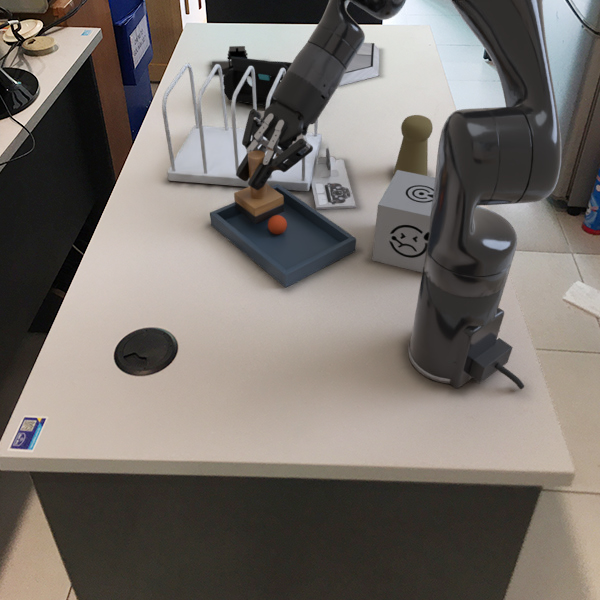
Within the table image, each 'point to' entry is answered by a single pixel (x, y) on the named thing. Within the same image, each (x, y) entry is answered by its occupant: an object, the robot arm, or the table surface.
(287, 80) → the robot arm
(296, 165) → the file sorter
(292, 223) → the tray
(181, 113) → the table surface
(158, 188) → the table surface
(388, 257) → the icon cube
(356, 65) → the security device
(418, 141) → the olive game pawn
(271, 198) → the wooden stamp
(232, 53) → the black block
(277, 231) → the crumb ball
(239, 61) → the virtual reality headset
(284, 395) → the table surface
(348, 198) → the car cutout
